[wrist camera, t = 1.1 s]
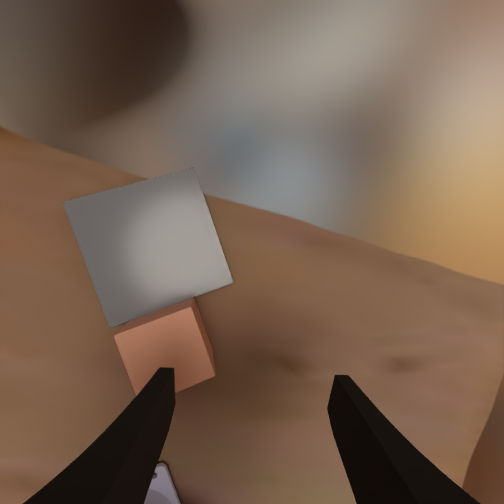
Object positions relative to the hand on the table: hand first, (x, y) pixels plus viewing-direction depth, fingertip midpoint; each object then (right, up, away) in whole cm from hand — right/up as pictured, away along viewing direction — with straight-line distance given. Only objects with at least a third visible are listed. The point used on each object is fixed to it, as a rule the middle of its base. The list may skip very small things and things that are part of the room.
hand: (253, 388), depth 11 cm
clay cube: (-7, -1, +10) cm, 12 cm away
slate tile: (-8, +7, +10) cm, 14 cm away
